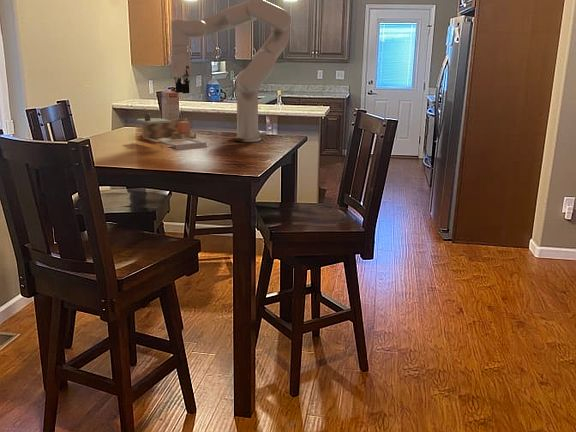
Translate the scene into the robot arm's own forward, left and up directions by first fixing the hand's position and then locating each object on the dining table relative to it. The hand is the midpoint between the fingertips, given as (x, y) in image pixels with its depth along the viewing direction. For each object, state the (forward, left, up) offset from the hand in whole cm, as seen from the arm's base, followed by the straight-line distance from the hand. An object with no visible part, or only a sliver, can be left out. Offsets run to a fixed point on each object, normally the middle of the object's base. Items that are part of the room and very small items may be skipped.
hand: (182, 92), depth 246 cm
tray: (+8, +14, -21) cm, 27 cm away
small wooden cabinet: (+5, -2, -21) cm, 22 cm away
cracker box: (-3, -18, -22) cm, 28 cm away
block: (0, 0, -20) cm, 20 cm away
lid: (+13, -2, -12) cm, 18 cm away
